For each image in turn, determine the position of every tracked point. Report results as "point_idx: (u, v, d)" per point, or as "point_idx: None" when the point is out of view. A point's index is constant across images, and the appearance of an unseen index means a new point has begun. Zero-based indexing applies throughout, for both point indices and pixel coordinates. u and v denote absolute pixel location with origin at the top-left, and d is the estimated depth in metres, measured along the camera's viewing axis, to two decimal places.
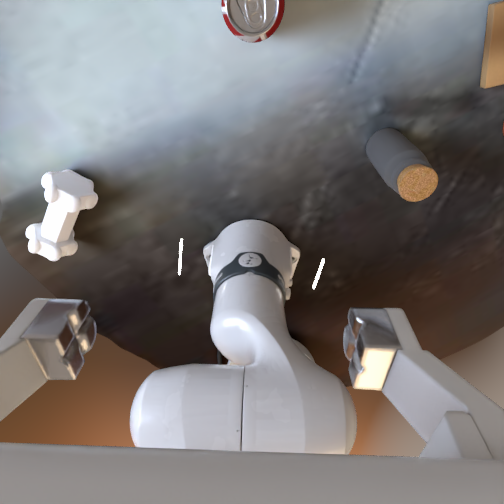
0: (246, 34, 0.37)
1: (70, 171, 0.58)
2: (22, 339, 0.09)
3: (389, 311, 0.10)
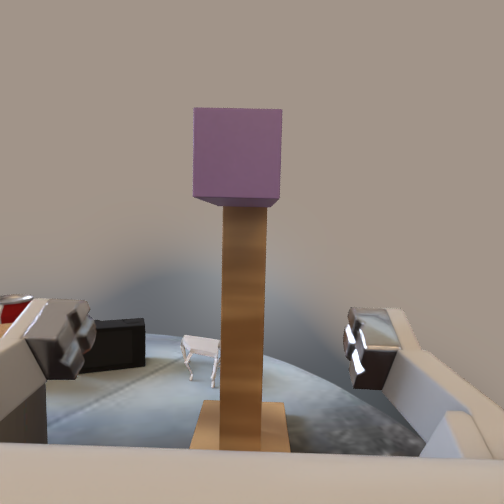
0: None
1: None
2: (22, 339, 0.09)
3: (389, 311, 0.10)
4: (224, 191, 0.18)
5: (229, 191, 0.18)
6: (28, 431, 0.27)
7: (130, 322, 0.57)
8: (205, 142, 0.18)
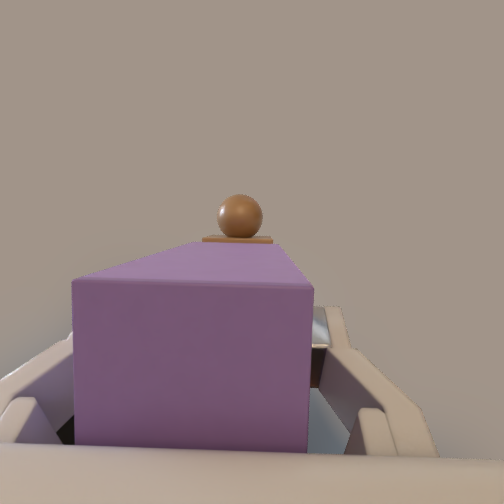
0: None
1: None
2: None
3: (326, 309, 0.10)
4: None
5: None
6: None
7: None
8: (105, 371, 0.07)
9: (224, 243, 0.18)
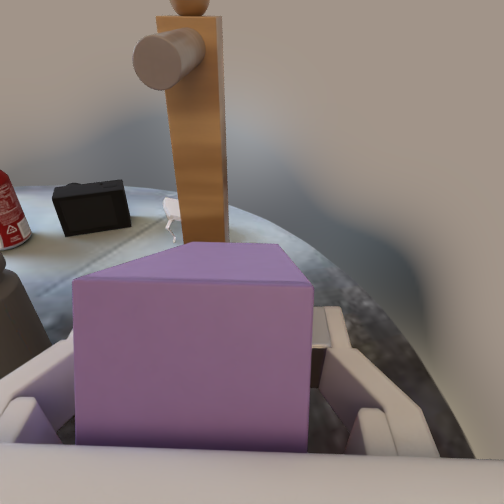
0: None
1: None
2: None
3: (326, 309, 0.10)
4: None
5: None
6: (17, 323, 0.31)
7: (108, 186, 0.56)
8: (105, 370, 0.07)
9: (224, 243, 0.18)
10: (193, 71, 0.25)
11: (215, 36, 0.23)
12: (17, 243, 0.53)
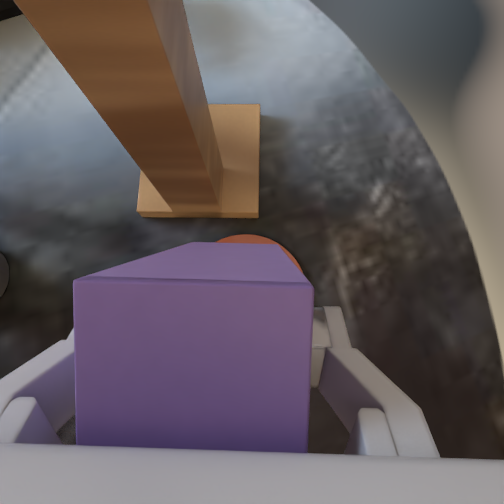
0: None
1: None
2: None
3: (326, 309, 0.10)
4: None
5: None
6: None
7: None
8: (106, 371, 0.07)
9: (224, 243, 0.18)
10: None
11: None
12: None
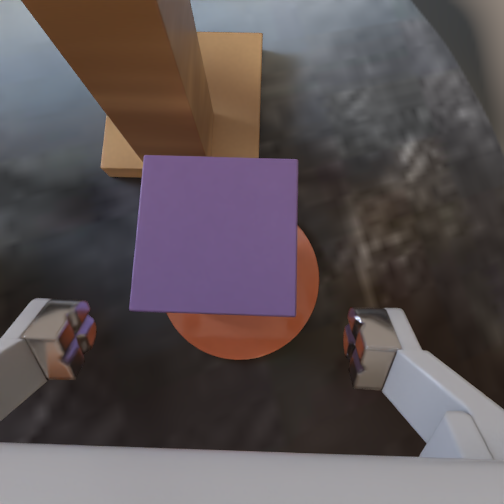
0: None
1: None
2: (22, 339, 0.09)
3: (389, 311, 0.10)
4: (190, 301, 0.09)
5: (199, 301, 0.09)
6: None
7: None
8: (160, 212, 0.10)
9: None
10: None
11: None
12: None
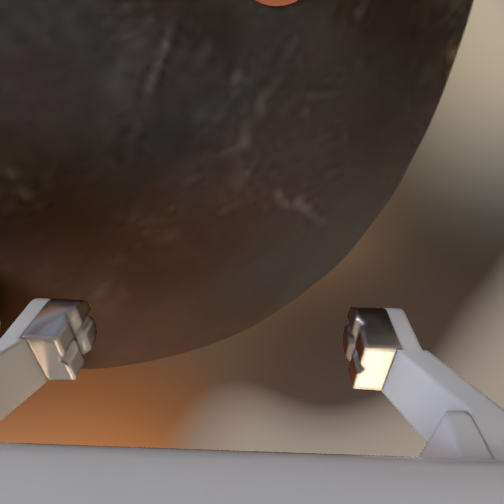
0: None
1: None
2: (22, 339, 0.09)
3: (389, 311, 0.10)
4: None
5: None
6: None
7: None
8: None
9: None
10: None
11: None
12: None
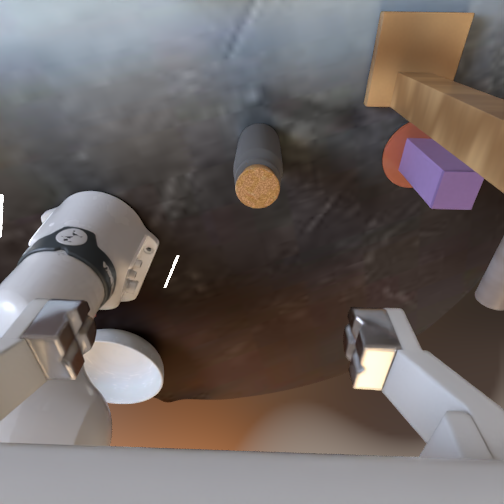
0: None
1: None
2: (22, 339, 0.09)
3: (389, 311, 0.10)
4: (446, 206, 0.40)
5: (449, 206, 0.40)
6: None
7: None
8: (444, 186, 0.39)
9: (421, 139, 0.47)
10: None
11: None
12: None
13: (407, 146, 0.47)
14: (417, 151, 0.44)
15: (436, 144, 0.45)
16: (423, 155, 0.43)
